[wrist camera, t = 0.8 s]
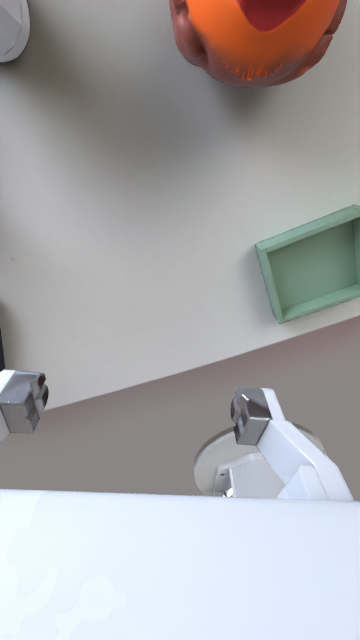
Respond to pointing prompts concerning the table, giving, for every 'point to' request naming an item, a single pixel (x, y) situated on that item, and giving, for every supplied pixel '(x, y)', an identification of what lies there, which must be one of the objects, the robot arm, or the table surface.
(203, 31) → the orange fox figurine
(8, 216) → the table surface
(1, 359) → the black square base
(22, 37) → the cup
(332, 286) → the basin
